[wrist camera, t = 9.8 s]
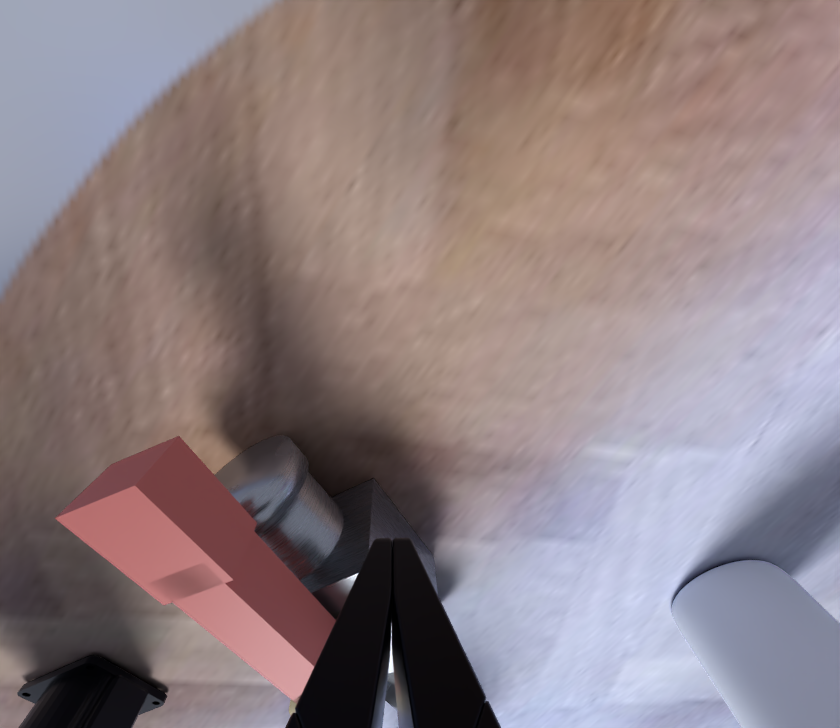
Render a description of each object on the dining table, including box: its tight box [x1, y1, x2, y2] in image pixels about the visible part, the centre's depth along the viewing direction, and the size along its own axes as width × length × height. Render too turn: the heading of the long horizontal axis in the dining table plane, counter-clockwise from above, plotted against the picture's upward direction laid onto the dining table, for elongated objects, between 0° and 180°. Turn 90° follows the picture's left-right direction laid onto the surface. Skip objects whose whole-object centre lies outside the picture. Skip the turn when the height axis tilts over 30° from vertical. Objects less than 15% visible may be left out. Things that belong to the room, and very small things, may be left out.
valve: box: [215, 435, 438, 710], centre depth 18 cm, size 7×16×5 cm, turn 27°
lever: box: [55, 436, 336, 715], centre depth 13 cm, size 14×3×2 cm, turn 23°
